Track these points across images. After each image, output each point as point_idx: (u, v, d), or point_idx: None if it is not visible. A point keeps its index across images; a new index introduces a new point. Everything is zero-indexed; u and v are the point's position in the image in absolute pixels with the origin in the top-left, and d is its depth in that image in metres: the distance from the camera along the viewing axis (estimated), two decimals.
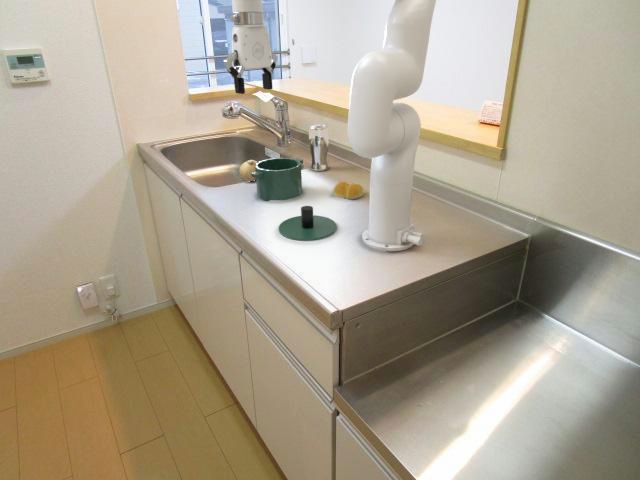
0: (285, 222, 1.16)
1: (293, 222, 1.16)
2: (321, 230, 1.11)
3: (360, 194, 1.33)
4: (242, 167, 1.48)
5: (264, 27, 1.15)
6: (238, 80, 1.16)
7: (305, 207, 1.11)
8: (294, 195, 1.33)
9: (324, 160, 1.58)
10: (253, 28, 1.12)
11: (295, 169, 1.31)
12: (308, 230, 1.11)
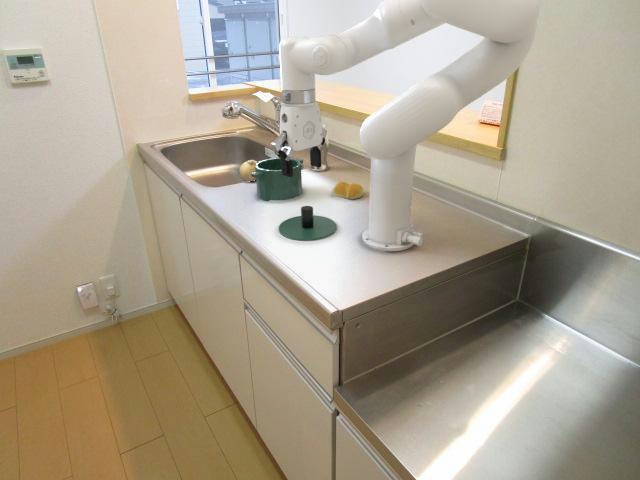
0: (285, 222, 1.16)
1: (293, 222, 1.16)
2: (321, 230, 1.11)
3: (360, 194, 1.33)
4: (242, 167, 1.48)
5: (316, 104, 1.02)
6: (286, 163, 1.03)
7: (305, 207, 1.11)
8: (294, 195, 1.33)
9: (324, 160, 1.58)
10: (305, 107, 1.00)
11: (295, 169, 1.31)
12: (308, 230, 1.11)
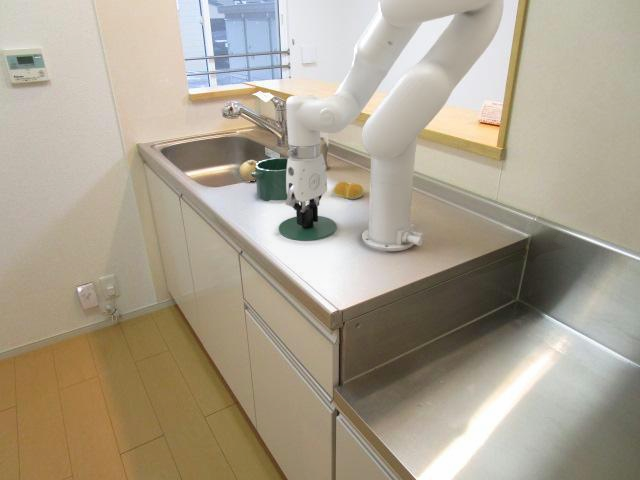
0: (285, 222, 1.16)
1: (293, 222, 1.16)
2: (321, 230, 1.11)
3: (360, 194, 1.33)
4: (242, 167, 1.48)
5: (321, 156, 1.06)
6: (301, 214, 1.09)
7: (305, 207, 1.11)
8: None
9: (324, 160, 1.58)
10: (310, 161, 1.04)
11: None
12: (308, 230, 1.11)
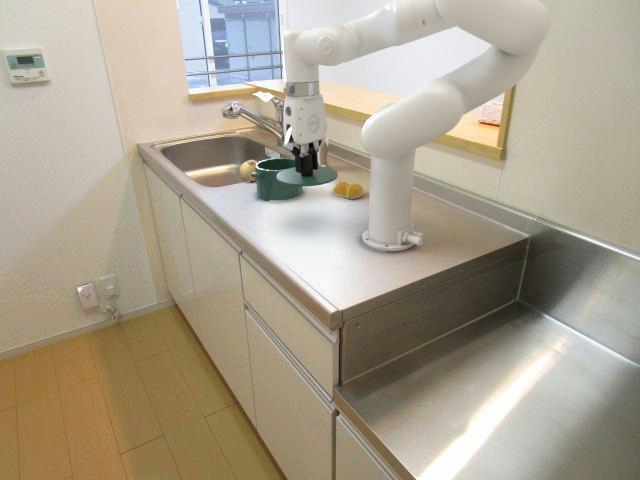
0: (283, 171, 1.10)
1: (292, 171, 1.10)
2: (321, 177, 1.05)
3: (360, 194, 1.33)
4: (242, 167, 1.48)
5: (320, 96, 1.00)
6: (300, 159, 1.03)
7: (304, 153, 1.05)
8: (294, 195, 1.33)
9: (324, 160, 1.58)
10: (309, 99, 0.98)
11: None
12: (307, 177, 1.05)
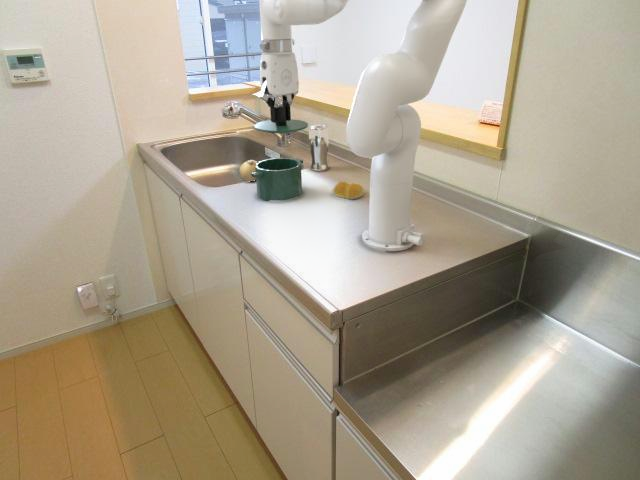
0: (260, 122, 1.25)
1: (268, 122, 1.24)
2: (293, 126, 1.20)
3: (360, 194, 1.33)
4: (242, 167, 1.48)
5: (292, 54, 1.15)
6: (275, 110, 1.18)
7: (278, 105, 1.20)
8: (294, 195, 1.33)
9: (324, 160, 1.58)
10: (282, 55, 1.12)
11: (295, 169, 1.31)
12: (281, 126, 1.20)
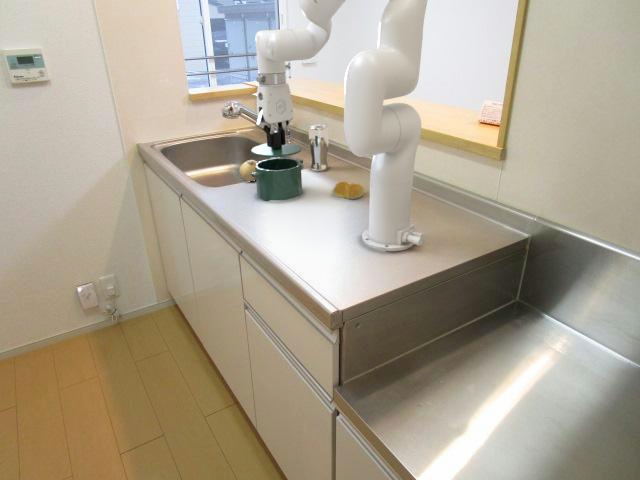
0: (258, 146, 1.35)
1: (265, 146, 1.35)
2: (287, 150, 1.30)
3: (360, 194, 1.33)
4: (242, 167, 1.48)
5: (286, 85, 1.25)
6: (270, 136, 1.28)
7: (274, 131, 1.30)
8: (294, 195, 1.33)
9: (324, 160, 1.58)
10: (277, 87, 1.22)
11: (295, 169, 1.31)
12: (276, 150, 1.30)
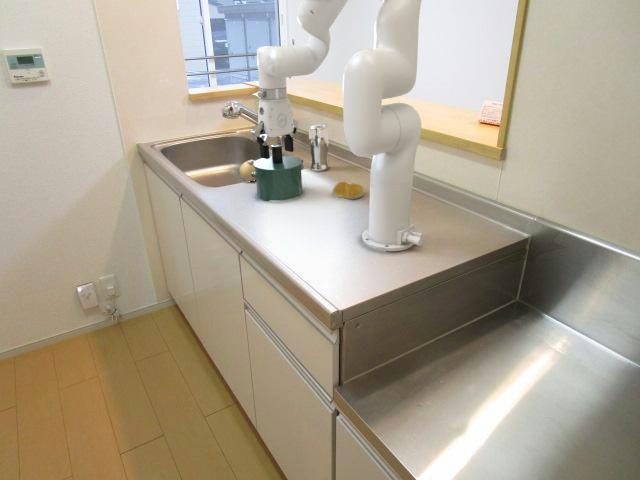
0: (259, 160, 1.37)
1: (266, 160, 1.36)
2: (288, 164, 1.32)
3: (360, 194, 1.33)
4: (242, 167, 1.48)
5: (287, 99, 1.27)
6: (264, 147, 1.27)
7: (275, 145, 1.32)
8: (294, 195, 1.33)
9: (324, 160, 1.58)
10: (278, 102, 1.24)
11: (295, 169, 1.31)
12: (277, 164, 1.32)
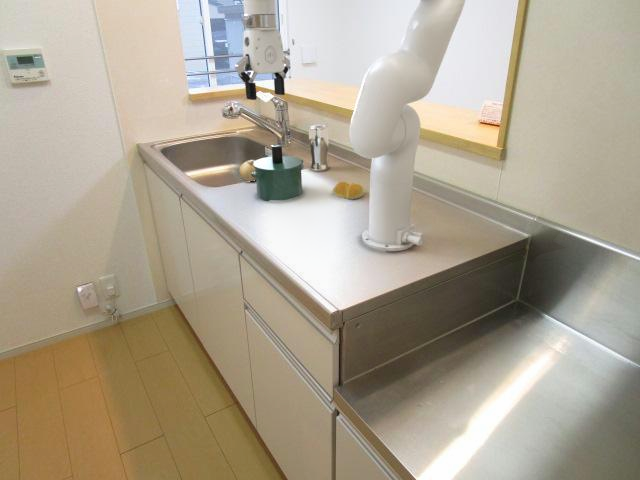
0: (259, 160, 1.37)
1: (266, 160, 1.36)
2: (288, 164, 1.32)
3: (360, 194, 1.33)
4: (242, 167, 1.48)
5: (277, 30, 1.10)
6: (250, 85, 1.11)
7: (275, 145, 1.32)
8: (294, 195, 1.33)
9: (324, 160, 1.58)
10: (266, 31, 1.07)
11: (295, 169, 1.31)
12: (277, 164, 1.32)
